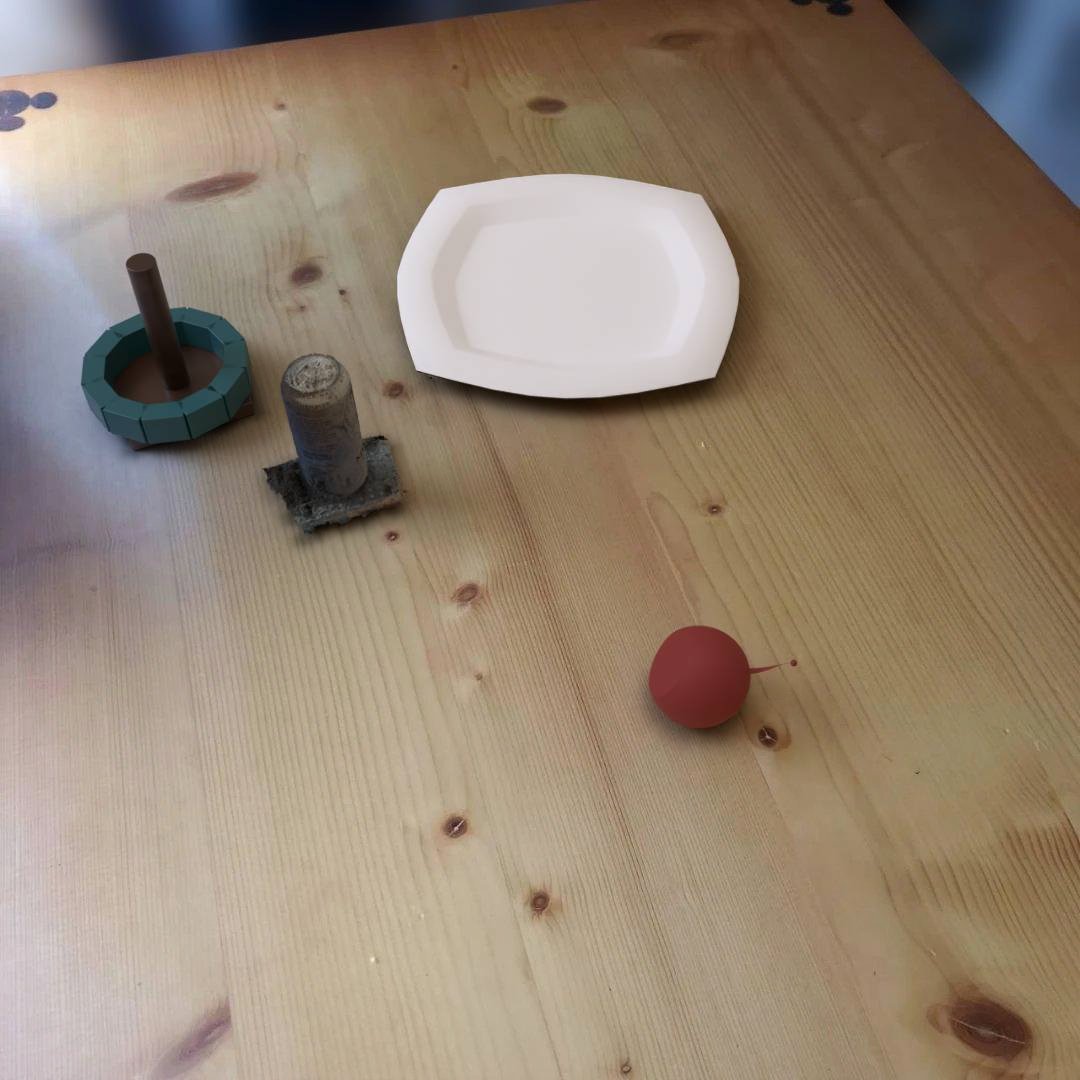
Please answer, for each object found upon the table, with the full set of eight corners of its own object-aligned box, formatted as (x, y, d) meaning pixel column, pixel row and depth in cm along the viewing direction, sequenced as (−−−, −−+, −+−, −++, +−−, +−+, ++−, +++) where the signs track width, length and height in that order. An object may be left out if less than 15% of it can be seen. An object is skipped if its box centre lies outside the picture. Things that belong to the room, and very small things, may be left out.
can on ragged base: (308, 551, 87) (281, 426, 78) (261, 477, 91) (229, 350, 82) (427, 497, 90) (414, 371, 81) (376, 429, 94) (359, 301, 85)
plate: (726, 195, 112) (729, 175, 111) (748, 420, 95) (751, 400, 94) (414, 189, 113) (413, 169, 111) (381, 411, 96) (378, 392, 94)
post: (133, 451, 93) (88, 321, 84) (105, 371, 98) (59, 240, 89) (255, 414, 95) (224, 283, 86) (221, 338, 101) (188, 207, 91)
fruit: (714, 760, 80) (797, 708, 74) (636, 726, 78) (715, 670, 72) (719, 677, 83) (799, 621, 78) (645, 642, 82) (721, 583, 76)
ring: (200, 460, 91) (193, 437, 89) (58, 417, 93) (49, 393, 92) (279, 354, 98) (274, 330, 96) (145, 317, 100) (138, 292, 98)
